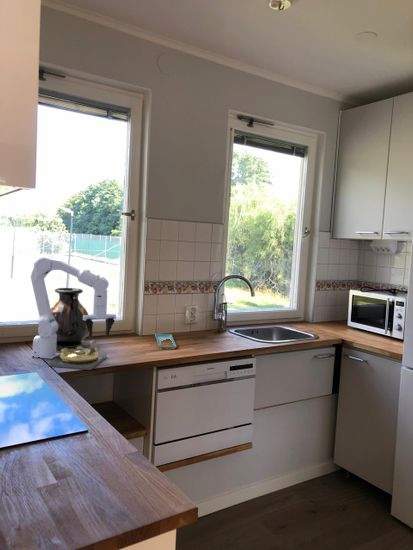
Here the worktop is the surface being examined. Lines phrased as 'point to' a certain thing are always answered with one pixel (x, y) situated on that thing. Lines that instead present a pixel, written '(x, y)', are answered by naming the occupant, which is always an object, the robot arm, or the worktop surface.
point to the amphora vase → (69, 319)
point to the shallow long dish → (163, 337)
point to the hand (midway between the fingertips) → (98, 335)
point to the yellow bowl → (80, 354)
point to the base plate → (84, 365)
